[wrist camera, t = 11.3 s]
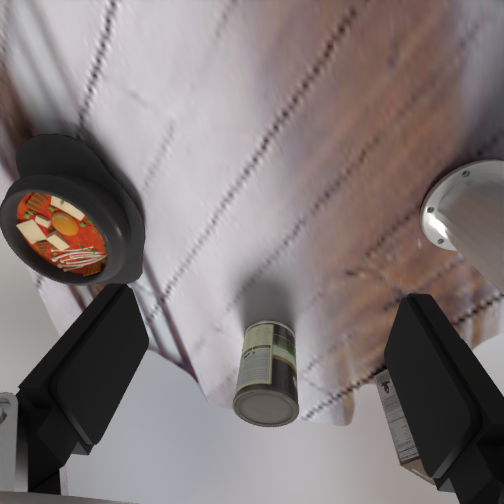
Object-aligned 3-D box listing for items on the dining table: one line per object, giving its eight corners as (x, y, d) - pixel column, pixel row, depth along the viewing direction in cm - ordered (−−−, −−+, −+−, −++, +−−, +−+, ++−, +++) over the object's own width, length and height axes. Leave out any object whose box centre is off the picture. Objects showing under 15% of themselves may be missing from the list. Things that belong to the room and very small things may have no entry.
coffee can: (300, 324, 52) (306, 397, 40) (289, 358, 57) (291, 432, 45) (246, 315, 52) (235, 385, 40) (240, 350, 57) (229, 421, 45)
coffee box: (426, 382, 57) (471, 476, 43) (400, 394, 60) (434, 486, 46) (397, 361, 55) (435, 455, 41) (371, 376, 58) (398, 467, 44)
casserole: (170, 276, 49) (151, 309, 42) (76, 281, 51) (43, 313, 44) (116, 122, 36) (74, 132, 29) (-5, 140, 39) (-70, 153, 32)
